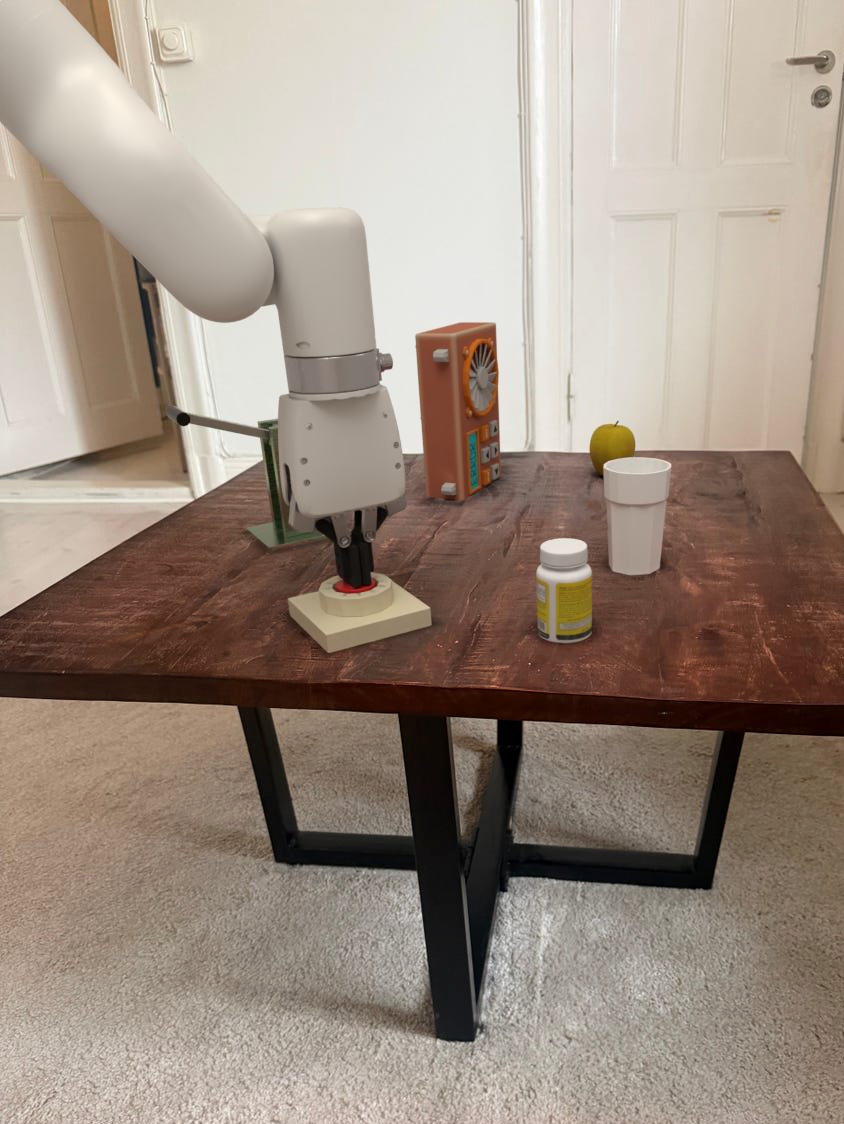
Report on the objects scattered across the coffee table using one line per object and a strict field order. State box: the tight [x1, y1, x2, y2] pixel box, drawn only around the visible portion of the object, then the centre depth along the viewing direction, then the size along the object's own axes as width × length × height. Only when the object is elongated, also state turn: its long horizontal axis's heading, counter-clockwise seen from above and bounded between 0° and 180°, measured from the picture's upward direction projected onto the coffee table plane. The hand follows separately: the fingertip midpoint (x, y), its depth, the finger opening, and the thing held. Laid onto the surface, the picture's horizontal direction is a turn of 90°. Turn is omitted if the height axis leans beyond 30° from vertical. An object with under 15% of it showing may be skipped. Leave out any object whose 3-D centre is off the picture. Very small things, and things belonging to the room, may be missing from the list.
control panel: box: [414, 321, 502, 501], centre depth 116 cm, size 21×7×15 cm
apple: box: [589, 420, 636, 477], centre depth 124 cm, size 6×6×8 cm
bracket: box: [245, 418, 351, 548], centre depth 104 cm, size 10×9×14 cm
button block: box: [287, 571, 433, 654], centre depth 82 cm, size 10×10×4 cm
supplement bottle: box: [535, 537, 593, 644], centre depth 77 cm, size 5×5×8 cm
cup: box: [603, 456, 672, 576], centre depth 90 cm, size 7×7×11 cm
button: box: [335, 578, 376, 594], centre depth 81 cm, size 4×4×2 cm
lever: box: [165, 405, 278, 445], centre depth 99 cm, size 14×5×2 cm, turn 120°
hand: (357, 582), depth 81 cm, fingers closed
